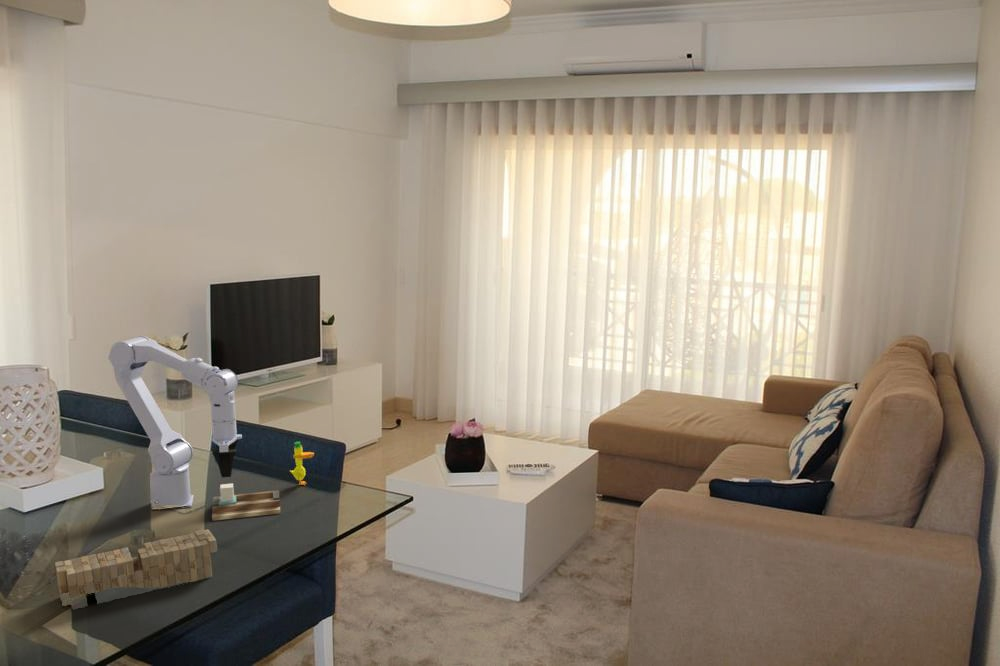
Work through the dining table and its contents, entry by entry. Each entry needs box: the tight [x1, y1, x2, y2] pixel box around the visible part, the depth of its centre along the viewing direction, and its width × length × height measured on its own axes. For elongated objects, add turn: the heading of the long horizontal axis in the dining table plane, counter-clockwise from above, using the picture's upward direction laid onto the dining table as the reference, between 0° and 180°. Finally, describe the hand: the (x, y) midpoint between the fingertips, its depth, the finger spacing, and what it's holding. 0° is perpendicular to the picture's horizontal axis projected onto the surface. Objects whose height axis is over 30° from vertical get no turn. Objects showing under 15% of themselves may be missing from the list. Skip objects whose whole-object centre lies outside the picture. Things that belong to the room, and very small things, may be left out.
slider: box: [219, 483, 237, 506], centre depth 210 cm, size 4×5×5 cm
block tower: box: [54, 529, 218, 598], centre depth 169 cm, size 8×8×29 cm
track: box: [211, 490, 281, 521], centre depth 212 cm, size 16×12×3 cm
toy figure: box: [289, 441, 315, 486], centre depth 228 cm, size 7×4×12 cm, turn 109°
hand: (227, 471), depth 211 cm, fingers open, 7 cm apart
